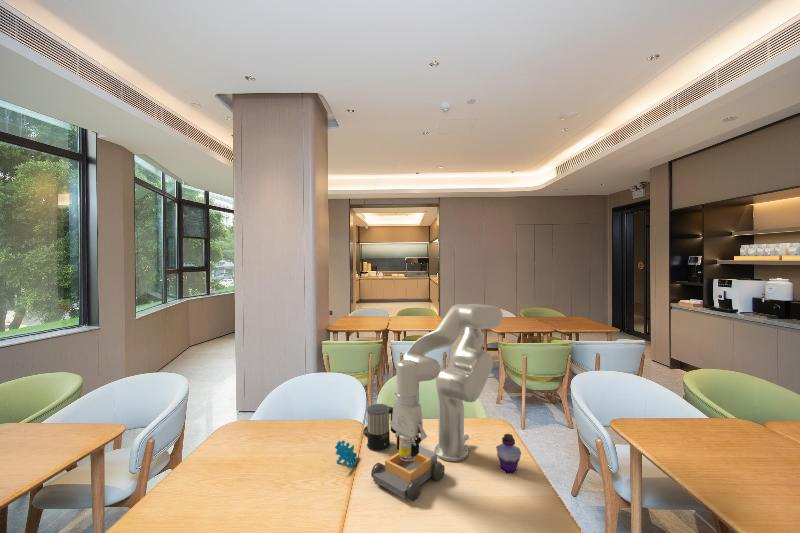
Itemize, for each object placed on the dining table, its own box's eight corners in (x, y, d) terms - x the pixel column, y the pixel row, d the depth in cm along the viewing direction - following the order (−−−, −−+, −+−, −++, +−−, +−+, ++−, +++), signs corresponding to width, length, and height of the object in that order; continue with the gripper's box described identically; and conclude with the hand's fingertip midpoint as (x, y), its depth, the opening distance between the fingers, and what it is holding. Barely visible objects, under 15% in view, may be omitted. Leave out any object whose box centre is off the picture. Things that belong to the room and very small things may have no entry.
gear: (349, 470, 125) (333, 444, 128) (338, 480, 126) (322, 455, 129) (364, 457, 135) (348, 434, 138) (353, 467, 136) (337, 444, 139)
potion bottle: (499, 459, 133) (499, 427, 133) (523, 466, 129) (523, 433, 129) (492, 472, 126) (492, 437, 125) (518, 479, 121) (518, 444, 121)
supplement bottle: (406, 451, 126) (406, 421, 125) (419, 456, 122) (419, 426, 122) (395, 458, 121) (395, 427, 121) (408, 464, 118) (408, 432, 118)
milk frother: (380, 454, 138) (380, 415, 137) (349, 442, 146) (348, 406, 146) (401, 438, 150) (401, 402, 149) (370, 428, 158) (370, 394, 158)
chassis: (408, 457, 135) (407, 439, 135) (446, 475, 124) (446, 456, 124) (369, 482, 120) (368, 463, 120) (408, 505, 109) (408, 484, 109)
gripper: (381, 395, 124) (381, 447, 125) (421, 408, 113) (421, 466, 113) (396, 389, 130) (396, 439, 130) (435, 401, 118) (435, 456, 119)
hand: (407, 451), depth 122 cm, fingers closed on supplement bottle, 5 cm apart
